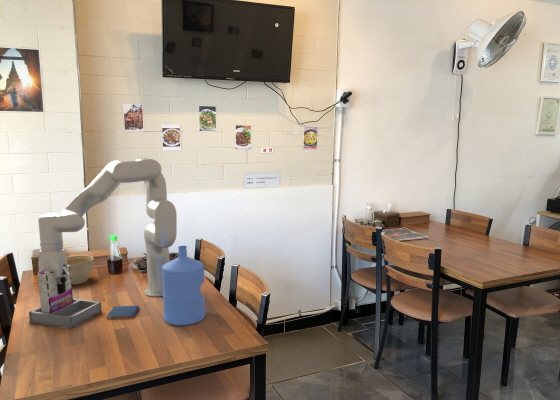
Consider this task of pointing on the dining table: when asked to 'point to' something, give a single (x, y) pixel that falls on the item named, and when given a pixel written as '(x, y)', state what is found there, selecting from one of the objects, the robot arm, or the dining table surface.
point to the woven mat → (123, 312)
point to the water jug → (183, 290)
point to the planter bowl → (80, 268)
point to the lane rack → (67, 314)
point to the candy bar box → (53, 292)
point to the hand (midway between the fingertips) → (55, 291)
